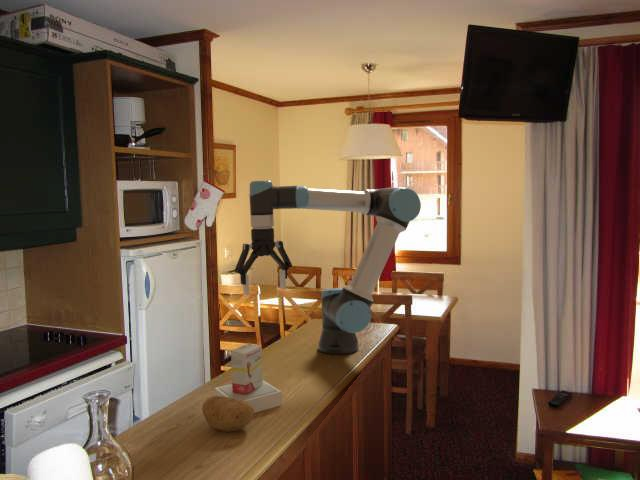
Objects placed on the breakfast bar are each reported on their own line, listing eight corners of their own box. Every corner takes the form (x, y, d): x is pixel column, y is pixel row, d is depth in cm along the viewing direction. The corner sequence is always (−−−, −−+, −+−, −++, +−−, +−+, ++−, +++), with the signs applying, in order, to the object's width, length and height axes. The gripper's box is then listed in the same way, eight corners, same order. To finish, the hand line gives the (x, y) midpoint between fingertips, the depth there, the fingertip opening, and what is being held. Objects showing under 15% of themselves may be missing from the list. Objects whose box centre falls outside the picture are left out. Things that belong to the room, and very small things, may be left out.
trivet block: (259, 390, 160) (258, 376, 159) (281, 405, 148) (281, 390, 148) (215, 401, 152) (214, 387, 152) (235, 418, 140) (235, 402, 140)
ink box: (246, 395, 145) (244, 353, 144) (231, 392, 147) (229, 351, 146) (263, 384, 152) (262, 344, 151) (250, 382, 155) (248, 342, 154)
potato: (242, 442, 127) (241, 410, 126) (195, 433, 132) (193, 402, 132) (263, 425, 136) (262, 395, 135) (217, 417, 141) (216, 388, 141)
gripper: (289, 225, 184) (291, 285, 186) (222, 229, 170) (225, 294, 172) (300, 225, 177) (302, 288, 179) (232, 230, 164) (235, 298, 166)
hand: (265, 291), depth 176 cm, fingers open, 13 cm apart
